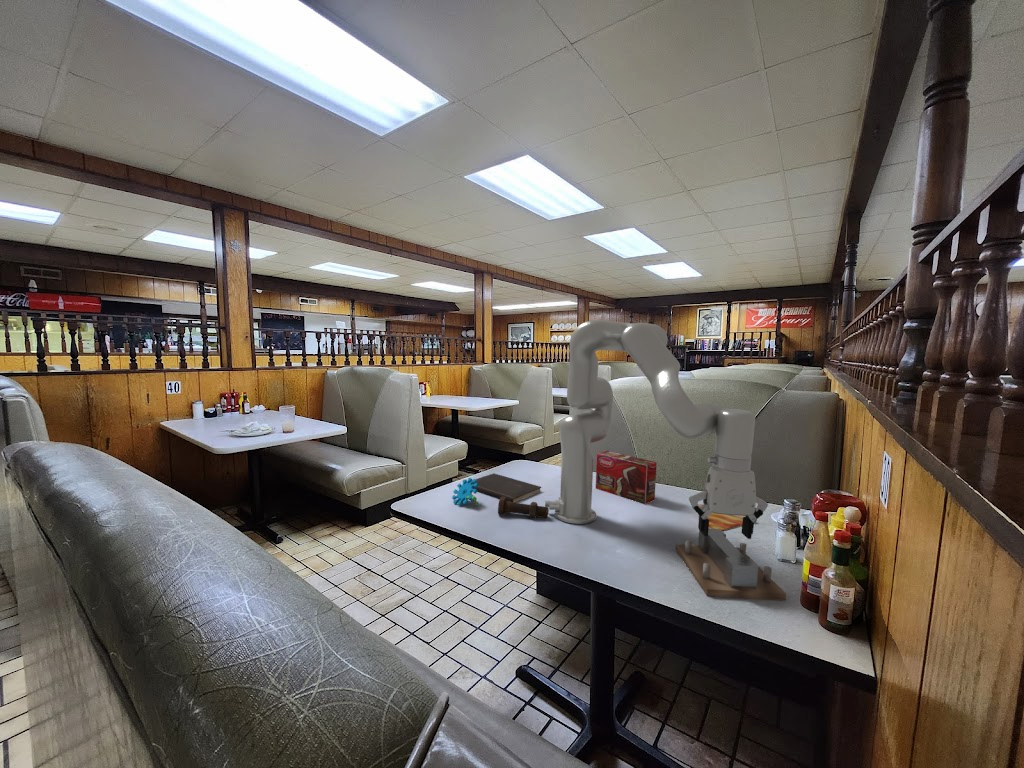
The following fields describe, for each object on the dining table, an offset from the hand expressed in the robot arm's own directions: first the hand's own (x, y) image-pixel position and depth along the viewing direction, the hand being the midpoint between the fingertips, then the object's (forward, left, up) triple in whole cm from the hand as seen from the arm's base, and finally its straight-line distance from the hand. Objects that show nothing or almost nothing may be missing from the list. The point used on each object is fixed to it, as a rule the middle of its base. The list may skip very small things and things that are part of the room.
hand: (724, 534), depth 97 cm
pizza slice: (+9, +31, -10) cm, 34 cm away
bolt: (-47, +27, -9) cm, 55 cm away
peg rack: (0, 0, -9) cm, 9 cm away
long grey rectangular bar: (0, 0, -7) cm, 7 cm away
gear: (-67, +35, -9) cm, 76 cm away
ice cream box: (-12, +50, -9) cm, 52 cm away
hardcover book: (-56, +50, -10) cm, 75 cm away
